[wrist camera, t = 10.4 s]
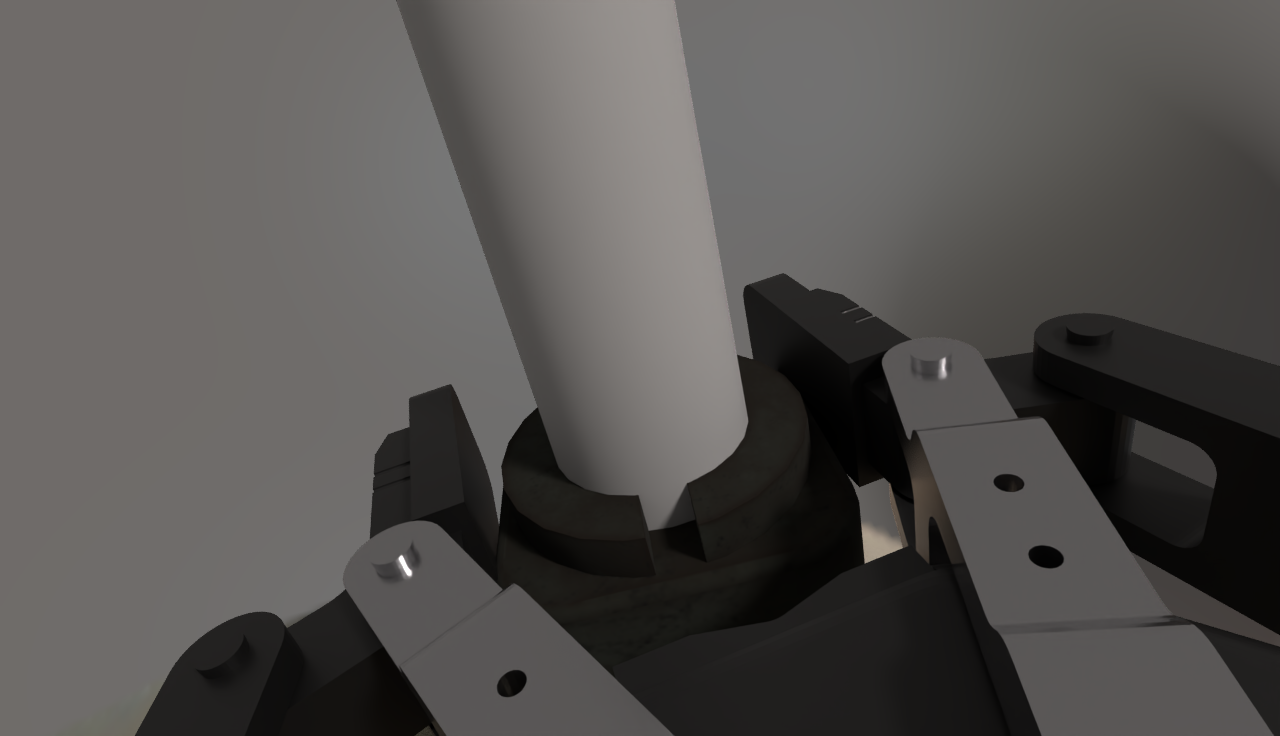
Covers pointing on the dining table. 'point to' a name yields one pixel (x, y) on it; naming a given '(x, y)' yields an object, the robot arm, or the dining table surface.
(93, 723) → the dining table surface
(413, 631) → the robot arm
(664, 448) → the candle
